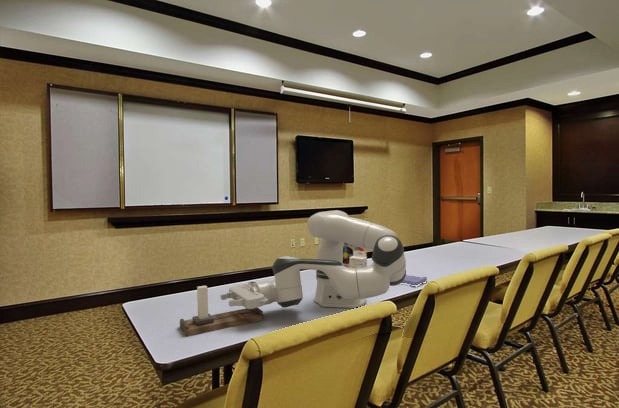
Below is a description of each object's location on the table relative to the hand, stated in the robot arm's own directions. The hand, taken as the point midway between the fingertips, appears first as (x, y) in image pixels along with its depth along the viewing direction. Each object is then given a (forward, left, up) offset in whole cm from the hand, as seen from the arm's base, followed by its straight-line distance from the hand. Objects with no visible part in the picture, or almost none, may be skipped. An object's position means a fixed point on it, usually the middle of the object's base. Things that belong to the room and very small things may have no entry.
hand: (225, 300), depth 130 cm
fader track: (+1, 0, -8) cm, 9 cm away
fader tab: (+5, +6, -6) cm, 10 cm away
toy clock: (-16, -94, -9) cm, 96 cm away
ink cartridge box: (-27, -80, -9) cm, 85 cm away
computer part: (-46, -84, -9) cm, 96 cm away
